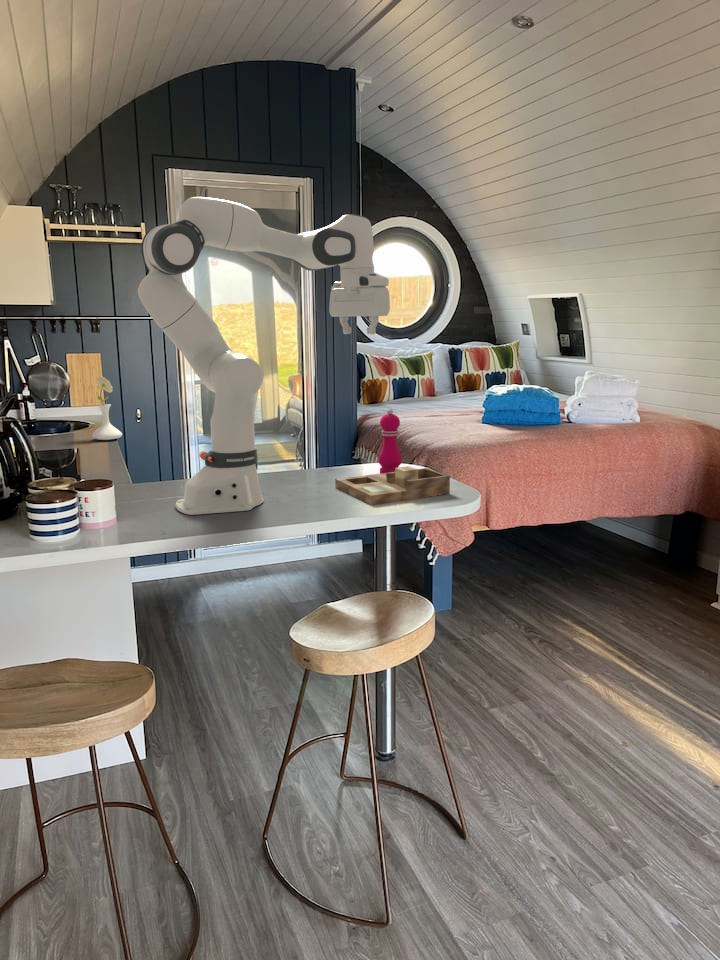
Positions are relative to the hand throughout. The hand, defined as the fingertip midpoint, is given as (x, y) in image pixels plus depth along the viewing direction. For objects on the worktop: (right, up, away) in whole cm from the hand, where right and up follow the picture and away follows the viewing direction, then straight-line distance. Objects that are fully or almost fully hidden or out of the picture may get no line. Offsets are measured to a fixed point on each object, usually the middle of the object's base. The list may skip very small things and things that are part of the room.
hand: (359, 334), depth 199 cm
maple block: (+13, -40, +4) cm, 42 cm away
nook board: (+9, -42, +8) cm, 44 cm away
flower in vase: (-100, -23, +98) cm, 142 cm away
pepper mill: (+9, -37, +29) cm, 48 cm away
